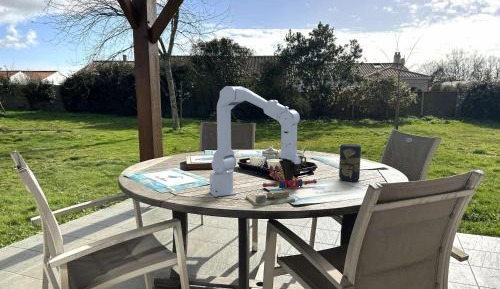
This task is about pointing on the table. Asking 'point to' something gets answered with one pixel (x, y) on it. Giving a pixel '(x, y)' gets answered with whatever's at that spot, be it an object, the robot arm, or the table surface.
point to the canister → (349, 162)
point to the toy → (285, 183)
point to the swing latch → (277, 194)
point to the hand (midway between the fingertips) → (288, 179)
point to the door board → (262, 199)
